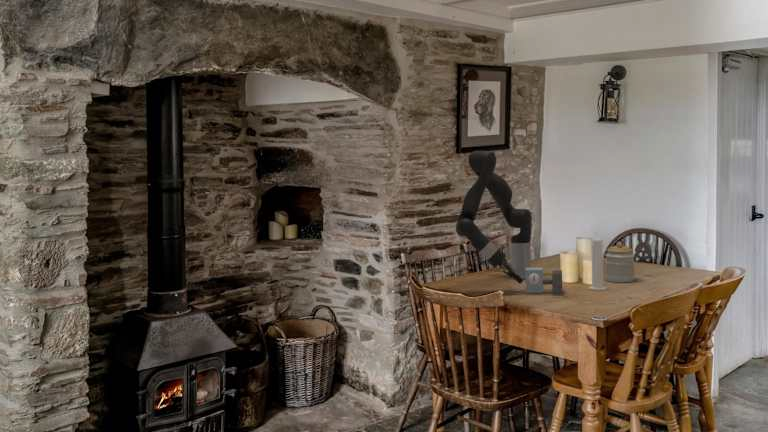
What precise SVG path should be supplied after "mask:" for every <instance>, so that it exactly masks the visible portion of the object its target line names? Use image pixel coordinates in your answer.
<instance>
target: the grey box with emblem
mask: <svg viewBox="0 0 768 432" xmlns="http://www.w3.org/2000/svg"><path fill="white" fill-rule="evenodd" d="M544 285H552V279H544V267H531V268H526V279H525V289H526V293H543V289H544Z"/></svg>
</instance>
